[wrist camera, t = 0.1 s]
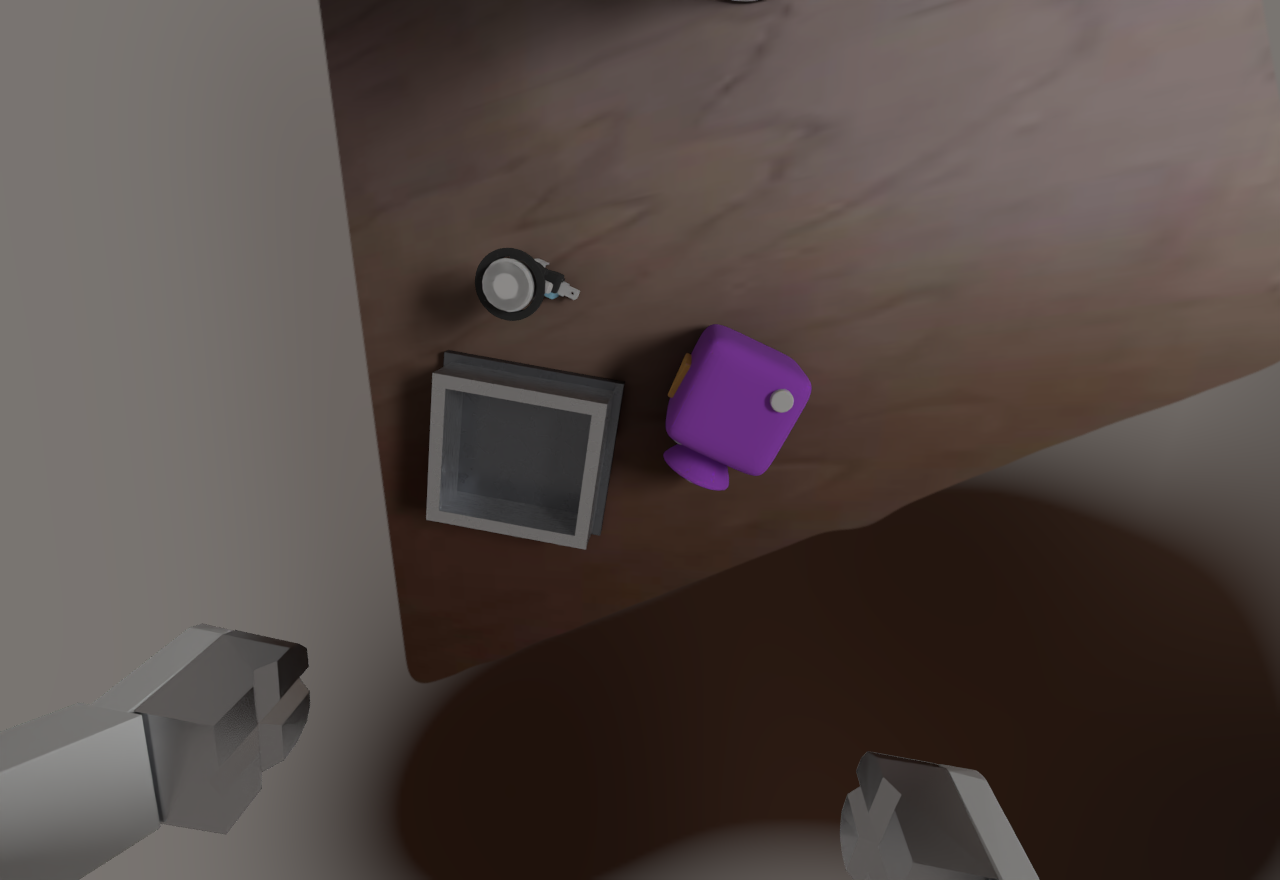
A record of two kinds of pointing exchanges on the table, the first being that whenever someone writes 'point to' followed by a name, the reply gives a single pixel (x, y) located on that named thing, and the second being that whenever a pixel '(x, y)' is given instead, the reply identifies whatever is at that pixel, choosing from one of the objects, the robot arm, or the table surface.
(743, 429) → the toy camera
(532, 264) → the push button
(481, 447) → the grey open box
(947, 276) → the table surface
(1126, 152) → the table surface
